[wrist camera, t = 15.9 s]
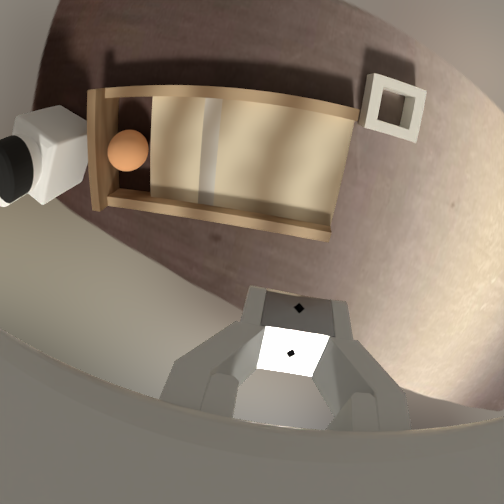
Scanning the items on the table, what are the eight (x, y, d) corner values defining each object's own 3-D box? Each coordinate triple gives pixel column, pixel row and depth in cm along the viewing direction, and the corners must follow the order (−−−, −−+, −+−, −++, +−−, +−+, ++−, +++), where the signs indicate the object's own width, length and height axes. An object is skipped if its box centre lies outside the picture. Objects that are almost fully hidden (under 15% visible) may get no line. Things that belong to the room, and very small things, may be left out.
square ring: (415, 90, 20) (426, 91, 18) (406, 138, 22) (416, 143, 20) (367, 74, 20) (374, 72, 18) (358, 124, 22) (364, 127, 20)
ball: (138, 134, 22) (99, 133, 22) (137, 178, 24) (100, 175, 24) (155, 127, 25) (120, 126, 25) (154, 166, 27) (119, 163, 27)
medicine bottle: (60, 103, 24) (-23, 127, 14) (101, 128, 26) (16, 160, 15) (45, 155, 28) (-28, 193, 18) (82, 182, 29) (9, 230, 19)
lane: (353, 108, 22) (363, 110, 18) (326, 230, 28) (330, 250, 25) (111, 87, 23) (87, 89, 20) (112, 195, 29) (92, 210, 26)
